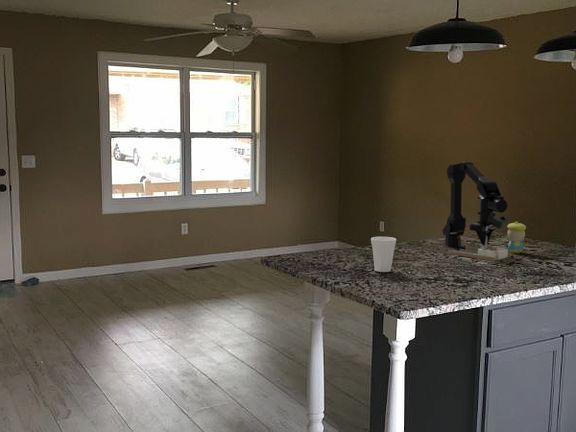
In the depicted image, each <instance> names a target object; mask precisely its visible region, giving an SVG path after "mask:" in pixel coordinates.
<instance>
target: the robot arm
mask: <svg viewBox="0 0 576 432" xmlns="http://www.w3.org/2000/svg"><path fill="white" fill-rule="evenodd" d="M446 175H447V176H446V177H447V179H448V181H449V183H450V214H449V216H447V219H446V224H445V226H444V227H443V228H442V235H444V236H445V243H444V245H445V246H446V247H449V248H461V247H462V238H461V236H463V235H464V233H465V230H466V227H467V224H466V221H467V220H466V219H467V218H466V217H464V216H463V214H462V197H463V195H462V194H463V193H462V192H463V191H462V189H463V186H462V185H463V183H464V181H465V179H466V175H467V176H468V177H469V178H470V179H471V180H472V182H473V183H475V186H476V189H477V191H478V193H479V194H480V195H478V196H477V199H479V201H480V202H479V211H478V212H477V215H479V218H478V219H479V220H478V221H477V222H473V223H471V224H470V225H469V228H468V230H469V231H472V232H473V231H474V232H476V235H477V237H478V239H479V241H480V244H482V245H485V242H486V236H488V238H487V246H488V245H489V242H490V239H491V237H492V235H493V233H494V232H495V231H497V229H500V230H501V229H504V228H505V226H506V225H508V219H507V217H506V216H504V215H502V216H501V217H500V216H498V215H497V213H505V212H506V210H507V209H508V202H507V201H506V200H505V199H504V196H502V195H501V194H502V193H501V191H500V189H499V186H498V183H497V182H496V181H495V180H493V179H491V178H489V177H486V176H485V175H484V174H483V173H482V172H481V171H480V170H479V169H478V168H477V167H476V166H475V165H474V163H473V162H471V161H462V162H460V163H456V164H450V165H449V166H448V167H447V168H446Z"/></svg>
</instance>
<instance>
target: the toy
mask: <svg viewBox="0 0 576 432" xmlns="http://www.w3.org/2000/svg"><path fill="white" fill-rule="evenodd" d="M506 228H508V229H507V238H508V239H509V242H508V244H507V249H508V252H509V253H511V254H520V253H521V252H522V251H523V249H524V244H523V240H524V239H525V237H526V231H525V230H526V229H527V226H526V225H525V224H523V223H519V222H518V221H514V222H512V223H508V224H507V227H506Z"/></svg>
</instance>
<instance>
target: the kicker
mask: <svg viewBox="0 0 576 432" xmlns="http://www.w3.org/2000/svg"><path fill="white" fill-rule="evenodd" d="M487 238H488V236H486V242H485V245H482V244H481V243H480V244H481V246H480V248H481V249H478V255H483V256H486V252H487V250H490V249H489V248H488V245H487Z"/></svg>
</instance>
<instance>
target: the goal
mask: <svg viewBox="0 0 576 432" xmlns="http://www.w3.org/2000/svg"><path fill="white" fill-rule="evenodd" d="M490 250H491V249H489V250H487V252H486V256H489V257H495V260H496V261H499V259H500V260H503V259H506V257H507V258H509V257H508V252H509V249H508V248H503V247H502V248H501V247H496V250H498V251H490Z"/></svg>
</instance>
